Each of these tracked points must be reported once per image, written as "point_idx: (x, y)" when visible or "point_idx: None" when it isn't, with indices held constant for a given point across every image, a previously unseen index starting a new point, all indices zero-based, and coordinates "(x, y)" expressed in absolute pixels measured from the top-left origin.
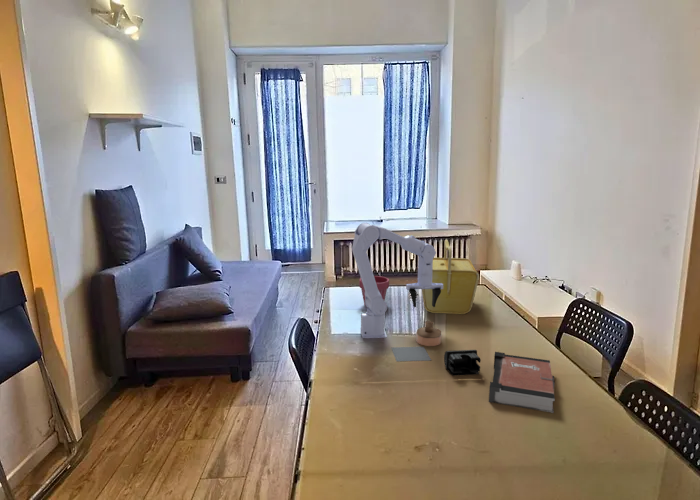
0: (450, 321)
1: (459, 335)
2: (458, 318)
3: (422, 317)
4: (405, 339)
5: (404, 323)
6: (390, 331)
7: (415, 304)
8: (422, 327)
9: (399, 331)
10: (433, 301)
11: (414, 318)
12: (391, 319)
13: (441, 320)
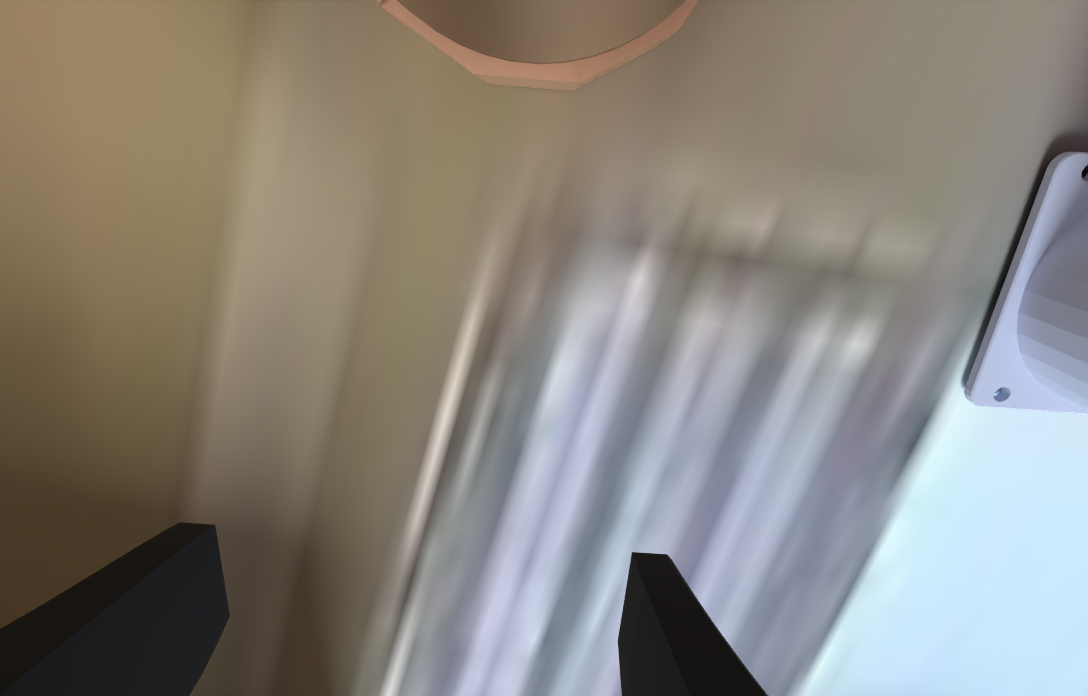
0: None
1: (51, 112)
2: None
3: (399, 689)
4: (824, 72)
5: None
6: (887, 376)
7: (668, 596)
8: (605, 40)
9: (783, 361)
10: (125, 654)
11: (488, 676)
12: None
13: None
